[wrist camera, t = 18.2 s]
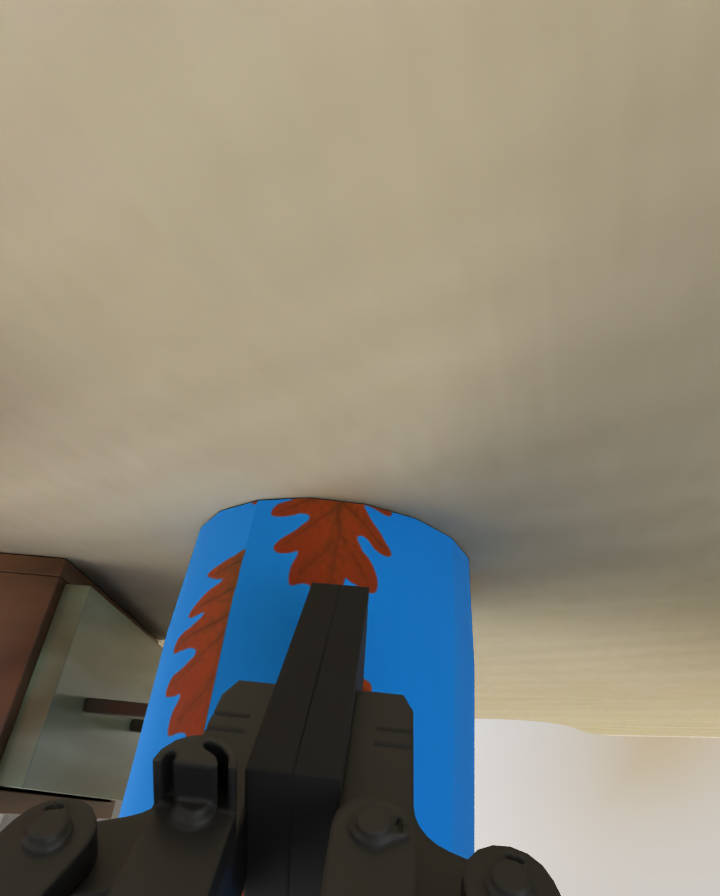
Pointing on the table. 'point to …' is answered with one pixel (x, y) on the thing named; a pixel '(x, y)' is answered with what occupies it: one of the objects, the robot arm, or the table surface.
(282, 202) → the table surface
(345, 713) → the robot arm
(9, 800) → the cabinet
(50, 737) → the drawer
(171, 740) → the thermos
